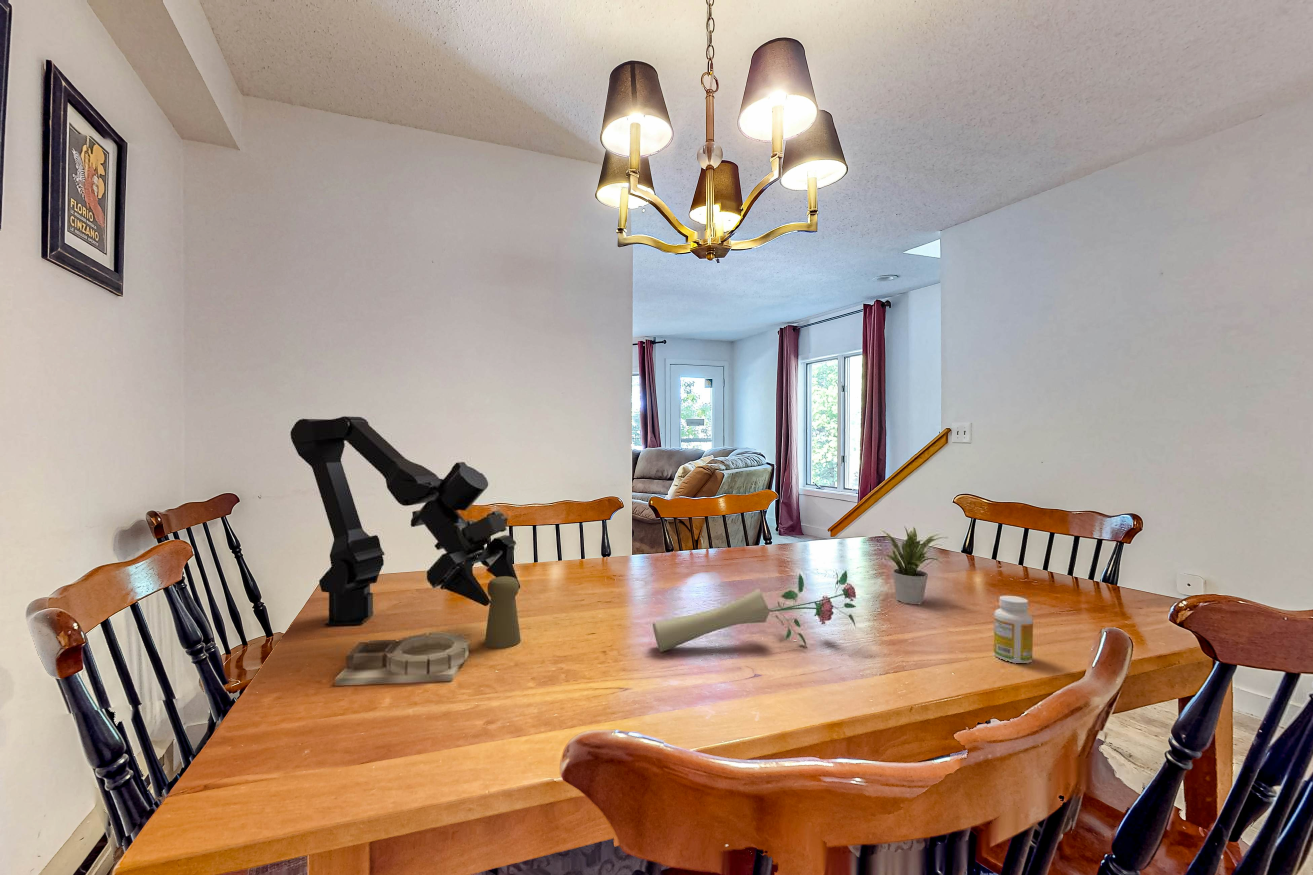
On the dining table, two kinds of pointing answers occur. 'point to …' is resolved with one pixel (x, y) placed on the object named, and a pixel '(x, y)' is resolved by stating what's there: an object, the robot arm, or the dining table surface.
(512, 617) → the olive tapered knobbed peg
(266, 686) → the dining table surface
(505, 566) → the robot arm
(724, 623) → the flower vase
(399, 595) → the dining table surface
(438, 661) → the holder
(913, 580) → the house plant
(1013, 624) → the supplement bottle
